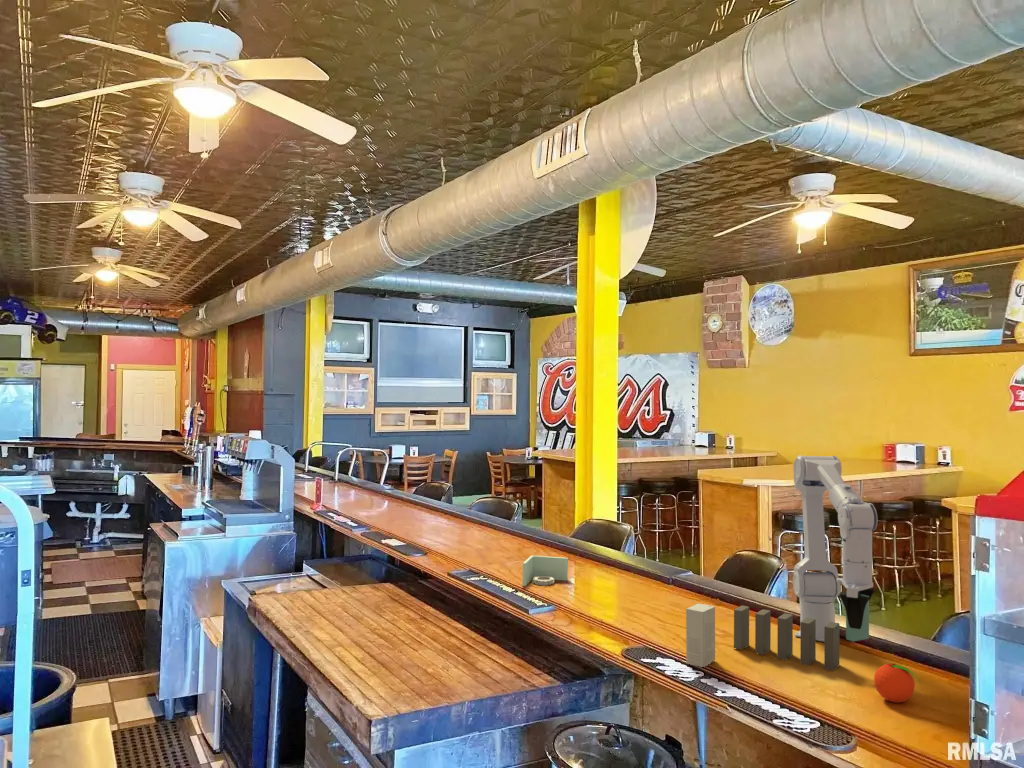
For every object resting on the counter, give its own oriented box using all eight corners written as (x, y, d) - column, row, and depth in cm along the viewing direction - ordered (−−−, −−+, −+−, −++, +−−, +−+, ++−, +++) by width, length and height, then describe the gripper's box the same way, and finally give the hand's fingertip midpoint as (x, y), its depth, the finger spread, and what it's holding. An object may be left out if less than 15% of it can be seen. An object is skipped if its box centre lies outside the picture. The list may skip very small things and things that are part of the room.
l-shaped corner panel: (522, 587, 228) (522, 563, 228) (530, 578, 240) (531, 555, 240) (561, 590, 225) (561, 565, 225) (567, 581, 237) (567, 557, 237)
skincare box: (697, 656, 166) (697, 602, 166) (715, 661, 163) (715, 606, 163) (685, 664, 161) (685, 608, 161) (703, 668, 158) (703, 612, 159)
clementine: (925, 702, 142) (924, 664, 142) (915, 713, 136) (915, 674, 137) (879, 691, 147) (879, 655, 147) (869, 701, 142) (869, 663, 142)
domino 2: (755, 653, 168) (755, 613, 169) (762, 648, 172) (762, 609, 172) (763, 655, 167) (763, 615, 167) (770, 650, 171) (770, 610, 171)
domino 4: (800, 663, 162) (800, 622, 162) (807, 657, 166) (807, 617, 166) (808, 665, 161) (809, 623, 161) (815, 659, 165) (815, 618, 165)
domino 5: (824, 668, 159) (824, 626, 159) (830, 662, 163) (830, 621, 163) (833, 670, 158) (833, 628, 158) (839, 664, 162) (839, 623, 162)
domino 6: (846, 639, 157) (846, 596, 157) (861, 636, 159) (861, 593, 160) (853, 641, 156) (853, 598, 156) (869, 638, 158) (869, 595, 158)
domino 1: (733, 648, 171) (734, 609, 172) (741, 643, 175) (741, 605, 175) (741, 650, 170) (741, 611, 171) (749, 645, 174) (749, 606, 174)
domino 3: (777, 658, 165) (777, 617, 165) (784, 653, 169) (784, 613, 169) (785, 660, 164) (785, 619, 164) (792, 654, 168) (792, 614, 168)
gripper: (842, 552, 166) (842, 613, 166) (830, 563, 154) (830, 629, 154) (877, 556, 162) (877, 619, 162) (868, 568, 150) (868, 636, 150)
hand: (857, 624), depth 158 cm, fingers closed on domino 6, 5 cm apart
